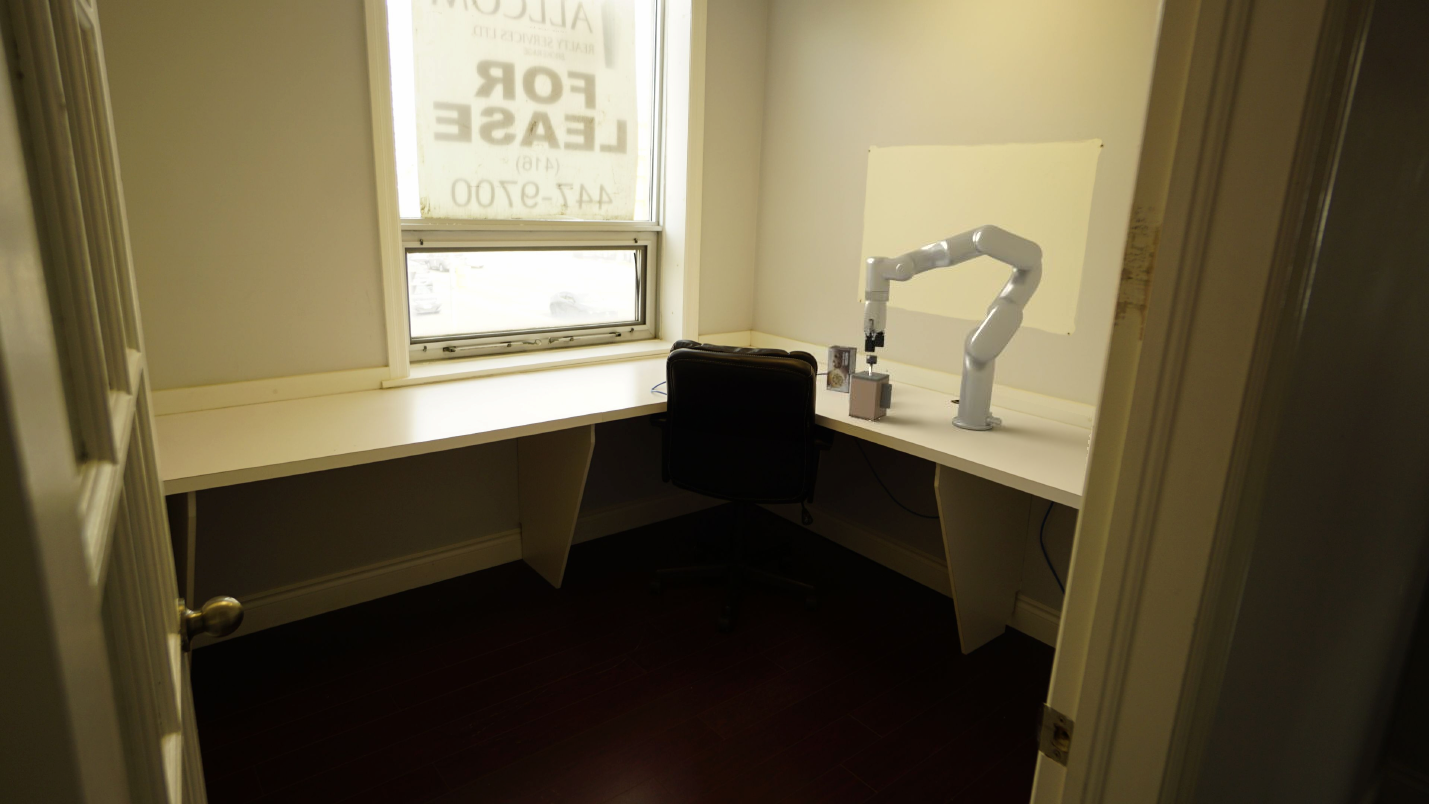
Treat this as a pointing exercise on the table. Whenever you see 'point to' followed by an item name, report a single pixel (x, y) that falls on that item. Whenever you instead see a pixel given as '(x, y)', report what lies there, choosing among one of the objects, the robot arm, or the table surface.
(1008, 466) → the table surface
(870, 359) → the lever with black knob
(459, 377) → the table surface
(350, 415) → the table surface
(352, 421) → the table surface
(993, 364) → the robot arm
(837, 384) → the coffee box
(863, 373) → the tan lever base
